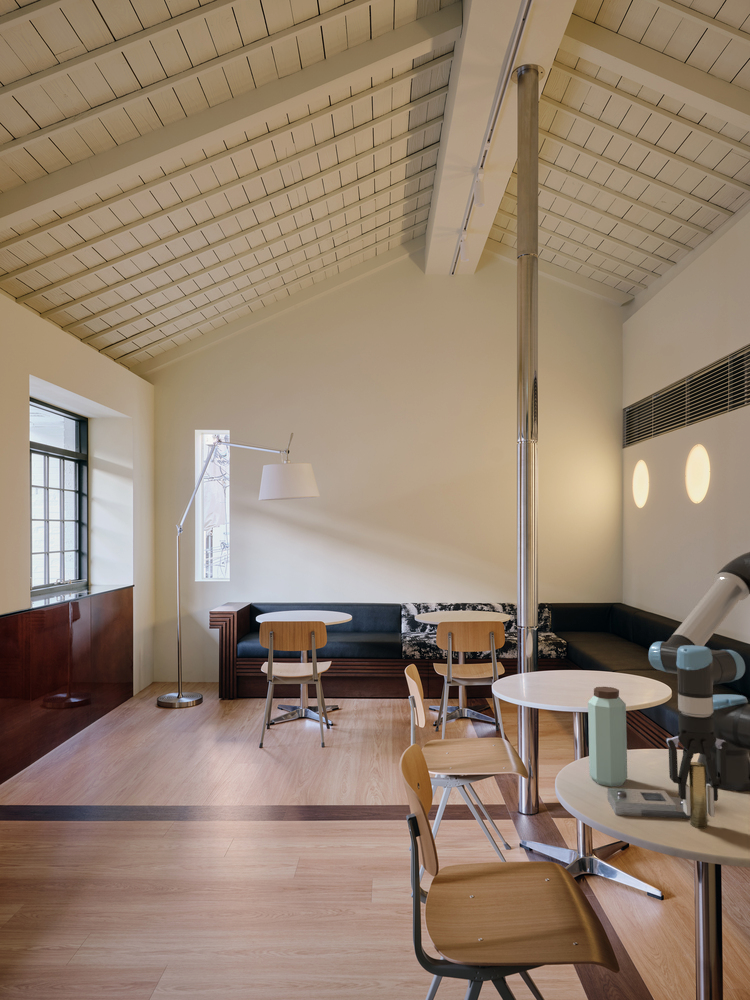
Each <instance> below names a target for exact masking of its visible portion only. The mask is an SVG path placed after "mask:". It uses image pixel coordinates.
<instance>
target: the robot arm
mask: <svg viewBox="0 0 750 1000" xmlns="http://www.w3.org/2000/svg"><path fill="white" fill-rule="evenodd" d="M749 595H750V551H749V552H746V553H742V554H741V555H738V556H737V557H735V558H734V559H731V561H729V562H728V563H726V564H725V565H724V566H722V568H721V569H720V570H719V571H718V572H717V573H716V574H715V576H714V578H713V584H712V585H711V587H710V588H709V590H708V591H706V593H705V594H704V596H703V597H702V598H701V599H700V601H698V603H697V604H696V605H695V607H694V608H693V609H692V610H691V612H690V613H689V614H688V615H687V617H686V618H685V619H684V620H683V621H682V623H680V625H679V626H678V628H677V629H676V630H675V631H674V632H673V634H671V636H670V637H669V639H668V640H667V641H664V640H663V641H655V642H653V643H652V644H651V645H650V647H649V650H648V661H649V663H650V666H652V668H654V669H656V670H657V671H662V672H666V673H667V674H668V673H670V674H677V706H678V708H677V709H678V713H677V714H678V717H677V718H678V731H677V734H676V736H674V737H666V738H665V743H666V745H667V746H668V768H669V770H668V772H669V779H670V780H671V781H672V783H674V784H678V797H680V798H681V799H683V811H684V812H685V813H686V815H689V816H691V815H690V787H689V784H688V783H687V782H688V779H689V769H690V764H691V762H692V759H694V755H696V754H699V755H698V758H697V761H696V762H700V763H703V764H705V765H706V791H707V815H709V816H710V817H711V818H713V817H715V802H718V800H719V792H718V791H719V790H718V789H720V790H729V791H734V792H735V791H736V792H737V791H740V792H741V791H750V754H749V753H750V704H748V703H749V701H748V699H747V697H746V696H744V695H742V694H741V695H740V694H732V693H731V694H726V693H725V694H723V693H722V694H721V693H720V694H713V692H714V691H713V689H714V688H713V686H715V685H719V684H724V683H732V682H734V681H736V680H739V679H741V678H742V677H743V676H744V674H745V672H746V664H745V661H744V659H743V657H742V656H741V655H740V654H739V653H738V652H737V651H735V650H732V649H719V650H715V649H710V647H708V646H705V645H706V643H707V642H709V640H710V638H711V637H712V636H713V635H714V633H715V632H716V631H717V629H718V628H720V626H721V625H722V624H723V622H724V621H725V619H726V618H727V617H728V615H729V614H730V613H731V612H732V610H734V608H735V606H736V605H737V604H738V603H739V602H740V601H743V600H745V599H747V598H748V597H749ZM679 743H680V745H682V747H683V749H682V758H681V762H680V766H678V750H677V748H678V747H679ZM678 767H679V768H678ZM678 769H679V771H678Z"/></svg>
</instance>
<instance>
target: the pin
mask: <svg viewBox="0 0 750 1000" xmlns="http://www.w3.org/2000/svg"><path fill="white" fill-rule="evenodd" d="M688 783H689V784H688V786H689V787H690V815H691V816H690V819H689V820H690V823H689V824H690V825H691V827H693V828H696V829H703V830H705V829H707V828H708V813H707V791H706V765H705V764H703V763H700V762H697V761H691V764H690V769H689V774H688Z"/></svg>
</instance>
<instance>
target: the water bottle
mask: <svg viewBox="0 0 750 1000" xmlns="http://www.w3.org/2000/svg"><path fill="white" fill-rule="evenodd" d="M587 711H588V712H587V714H588V720H587V721H588V760H589V761H588V763H589V766H588V767H589V768H588V769H589V771H588V772H589V777H590V778H591V780H593V781H594V782H595V783H596V784H598V785H602V786H606V787H621V786H623V784H624V783H625V782H626V780H627V778H628V746H627V744H628V741H627V736H628V735H627V704H626V702H625V701H624V700H623V699H622V698H621V697H620V689H618V688H616V687H611V686H596V687H595V688H593V696H592V697H591V698H590V699H589V700H588V701H587Z"/></svg>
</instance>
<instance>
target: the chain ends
mask: <svg viewBox="0 0 750 1000" xmlns="http://www.w3.org/2000/svg"><path fill="white" fill-rule="evenodd" d="M607 801H608V802H609V805H610V807H611V809H612V810H613V812H614V814H615V815H616V816H633V817H634V816H635V817H651V818H670V819H672V818H673V819H689V820H690V816H689V815H686V813H685V812H684V811H683V799H681V798H680V797H679V796H678V797H677V796H670V795H669V794H668V793H667V792H666V790H663V789H662V790H660V789H658V790H657V789H641V788H640V789H638V788H615V787H607Z"/></svg>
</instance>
